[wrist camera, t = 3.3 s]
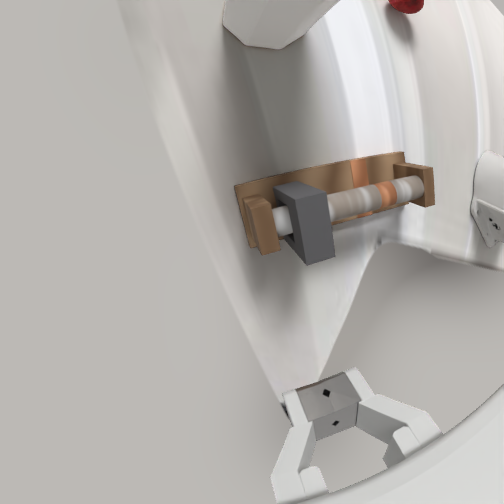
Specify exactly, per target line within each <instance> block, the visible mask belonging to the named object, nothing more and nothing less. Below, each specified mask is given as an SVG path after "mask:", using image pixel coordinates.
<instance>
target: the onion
mask: <svg viewBox="0 0 504 504" xmlns="http://www.w3.org/2000/svg"><path fill="white" fill-rule="evenodd" d="M389 2H390V4H391V5H392V6H393V7H394V8H395V9H396V10H398V11H400V12H403V13H406V14H413V13H417V12H418V11H420V10H421V9H422V8H423V5H424V0H389Z"/></svg>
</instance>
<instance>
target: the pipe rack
mask: <svg viewBox="0 0 504 504" xmlns="http://www.w3.org/2000/svg"><path fill="white" fill-rule="evenodd" d="M295 181H299V182H301V183H304V184H307V185H310V186H312V187H315V188H317V189H320V190H323V191H325V192H326V193H327V199H328V206H329V212H330V219H331V225H335V224H338V223H342V222H345V221H349V220H353V219H356V218H361V217H364V216H368V215H372V214H374V213H378V212H381V211H385V210H388V209H392V208H395V207H399V206H403V205H406V204H409V202H411V203H414V204H417V205H419V206H422V207H429V206H432V205H435V194H434V176H433V167H427V166H422V165H416V164H410V163H405V156H404V152H393V153H387V154H380V155H374V156H368V157H362V158H356V159H351V160H345V161H340V162H335V163H330V164H325V165H320V166H315V167H310V168H306V169H301V170H297V171H292V172H288V173H284V174H279V175H275V176H271V177H267V178H263V179H259V180H255V181H251V182H247V183H243V184H239V185H236V186H234V188H235V191H236V195H237V199H238V203H239V207H240V211H241V215H242V218H243V222H244V226H245V230H246V234H247V238H248V242H249V245H250V248H254V247H258V249H259V251H260V252H261V254H262V255H266V254H269V253H273V252H276V251H280V250H281V249H280V244H279V240H282V239H284V238H283V236H284V235H287V234H291V233H293V230H292V225H291V220H290V215H289V210H288V206H287V205H286V206H282V207H278V208H277V205H276V200H275V196H274V191H273V187H274V186H278V185H282V184H286V183H291V182H295Z"/></svg>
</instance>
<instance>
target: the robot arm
mask: <svg viewBox="0 0 504 504" xmlns="http://www.w3.org/2000/svg"><path fill="white" fill-rule="evenodd" d="M471 213H472V215H473V217H474V219H475V221H476V223H477V225H478V227H479V229H480V232H481V234H482V236H483V238H484V240H485V243H486V245H487V247H490V248H491V247H493V246H494V245H495V244H496V243H497V242H498V241H501V242H504V157H502V156H500V155H498V154H497V153H495V152H493V151H490V150H488V151H486V152H484V153H483V154H482V156H481V157H480V159H479V162H478V164H477V168H476V172H475V179H474V195H473V200H472V204H471ZM282 395H283V398H284V402H285V405H286V409H287V412H288V416H289V419H290V422H291V425H292V427H291V428H290V429H289V431H288V434H287V437H286V440H285V442H284V445H283V447H282V450H281V453H280V455H279V458H278V460H277V463H276V465H275V468H274V470H273V472H272V475H271V481H272V486H273V489H274V494H275V497H276V501H277V504H504V384H503V385H502V386H501V387H500V388H499V389H498V390H497V391H496V392H495V393H494V394H493V395H492V396H490V397H489V398H488V399H487V400H486V401H485V402H484V403H483V404H482V405H481V406H479V407H478V408H477V409H476V410H475V411H474V412H472V413H471V414H470V415H469V416H467V417H466V418H465V419H464V420H462V422H460V423H459V424H457V425H456V426H455V427H454V428H452V429H451V430H449V431H448V432H447V433H445V434H444V435H443V433H442V432H441V430H440V429H439V428H438V426H437V425H436V424H435V422H434V421H433V419H432V418H431V417H430V415H429V414H428V413H427V412H426V411H423V410H420V409H418V408H415V407H412V406H409V405H407V404H404V403H401V402H399V401H396V400H394V399H391V398H388V397H386V396H383V395H381V394H376V395H375V394H374V393H373V392H372V390H371V388H370V387H369V385H368V384H367V382H366V381H365V379H364V378H363V376H362V375H361V373H360V372H359V370H358V369H357V368H356V367H353V368H351V369H348V370H346V371H344V372H340V373H338V374H335V375H333V376H330V377H328V378H325V379H323V380H320V381H319V382H316V383H313V384H310V385H307V386H303V387H300V388H297V389H294V390H290V391H287V392H284V393H282ZM354 426H356V427H358V428H360V429H361V430H363V431H365V432H366V433H368V434H370V435H372V436H374V437H375V438H377V439H379V440H381V441H383V442H385V443H387V444H388V448H387V450H386V453H385V455H384V457H383V460H384V462H385V463H386V465H387V467H388V469H386V470H384V471H382V472H380V473H378V474H375V475H373V476H371V477H369V478H367V479H365V480H362V481H360V482H358V483H355V484H353V485H350V486H348V487H346V488H343V489H340V490H338V491H335V492H332V493H329V492H328V489H327V487H326V484H325V482H324V479H323V477H322V474H321V472H320V469H319V468H318V467H314V466H312V467H309V466H310V463H311V459H312V455H313V452H314V448H315V444H316V441H317V440H320V439H323V438H325V437H328V436H330V435H333V434H335V433H338V432H341V431H343V430H346V429H348V428H351V427H354Z"/></svg>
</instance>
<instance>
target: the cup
mask: <svg viewBox="0 0 504 504" xmlns="http://www.w3.org/2000/svg"><path fill="white" fill-rule="evenodd" d="M339 1H340V0H225V7H224V16H223V26H224V27H226V28H227V29H228V30H229V31H230V32H231V33H232V34H234V35H235V36H236V37H237V38H238V39H239V40H240V41H241V42H242V43H243V44H244V45H247V46H255V47H264V48H272V49H282V48H284V47H285V46H287V45H288V44H290V43H292V42H293V41H295V40H296V39H298V38H300V37H301V36H303V35H304V34H305V33H306V32H307V31H308V30H309V29H310V28H311V27H312V26H313V25H314V24H315V23H316V22H317V21H318V20H319V19H320V18H321V17H322V16H323V15H324V14H326V13H327V12H328V11H329V10H330V9H331V8H332V7H333V6H334V5H335V4H336V3H338V2H339Z"/></svg>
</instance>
